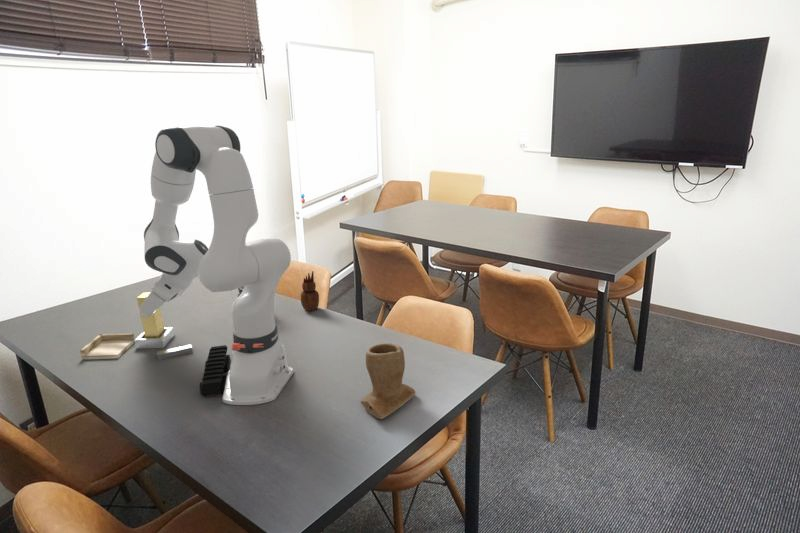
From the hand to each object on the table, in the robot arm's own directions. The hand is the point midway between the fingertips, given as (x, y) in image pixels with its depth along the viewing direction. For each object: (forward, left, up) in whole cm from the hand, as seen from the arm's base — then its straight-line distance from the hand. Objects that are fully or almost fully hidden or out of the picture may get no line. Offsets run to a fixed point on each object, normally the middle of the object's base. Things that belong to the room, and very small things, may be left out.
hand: (148, 312), depth 157 cm
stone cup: (-39, -76, -11) cm, 86 cm away
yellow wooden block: (0, -1, -8) cm, 8 cm away
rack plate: (-5, +12, -11) cm, 17 cm away
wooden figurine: (+23, -48, -11) cm, 55 cm away
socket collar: (0, 0, -11) cm, 11 cm away
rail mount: (-24, -28, -11) cm, 38 cm away
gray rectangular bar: (-9, -10, -11) cm, 18 cm away
